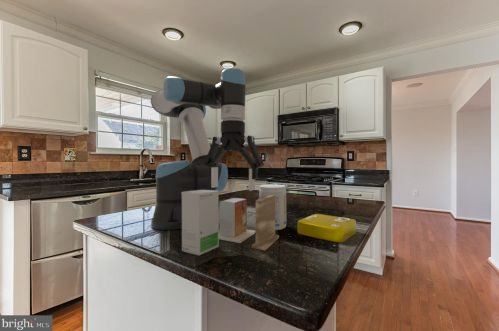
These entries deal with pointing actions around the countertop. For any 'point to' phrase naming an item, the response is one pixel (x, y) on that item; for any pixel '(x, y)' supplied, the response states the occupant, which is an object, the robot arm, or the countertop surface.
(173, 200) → the robot arm
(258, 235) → the oak screen
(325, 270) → the countertop surface
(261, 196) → the supplement tub
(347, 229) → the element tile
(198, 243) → the skincare box
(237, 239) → the cream pad
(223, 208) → the small box
